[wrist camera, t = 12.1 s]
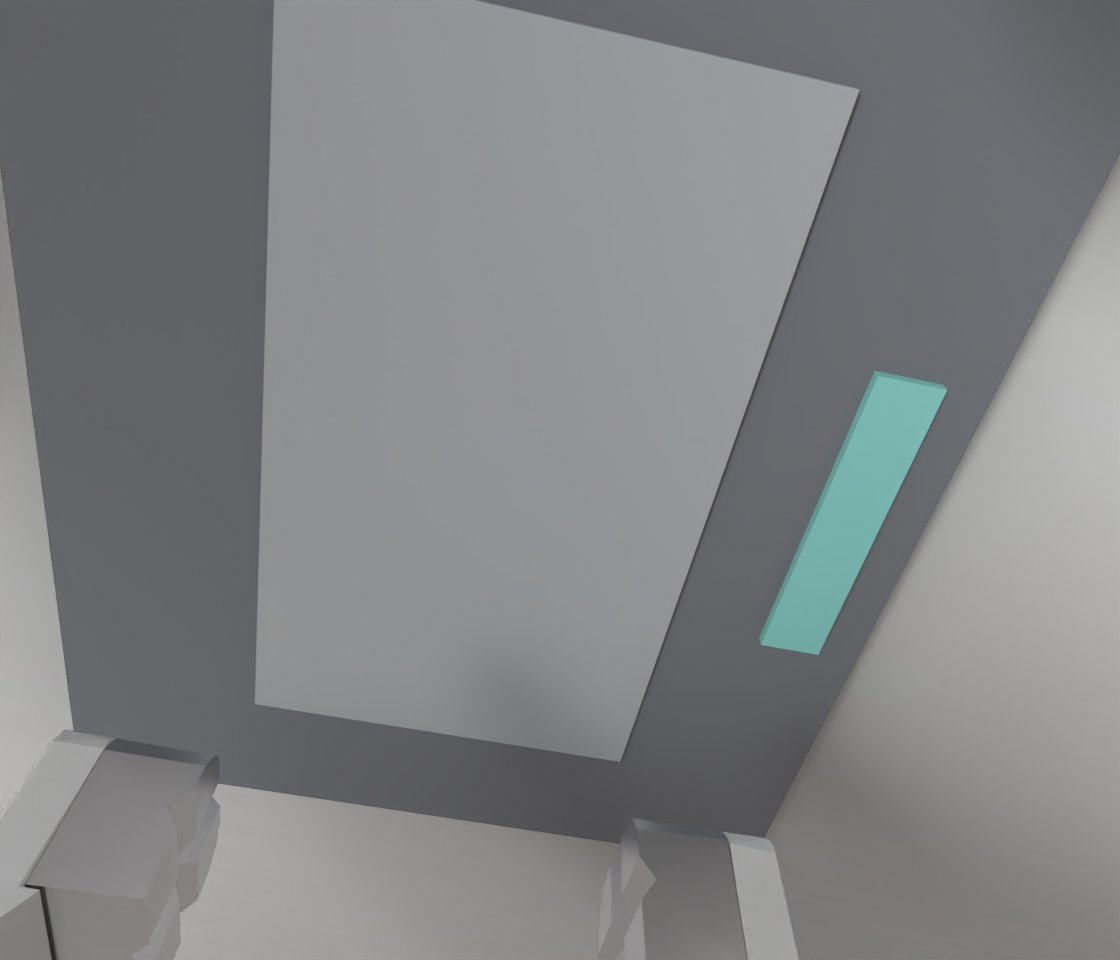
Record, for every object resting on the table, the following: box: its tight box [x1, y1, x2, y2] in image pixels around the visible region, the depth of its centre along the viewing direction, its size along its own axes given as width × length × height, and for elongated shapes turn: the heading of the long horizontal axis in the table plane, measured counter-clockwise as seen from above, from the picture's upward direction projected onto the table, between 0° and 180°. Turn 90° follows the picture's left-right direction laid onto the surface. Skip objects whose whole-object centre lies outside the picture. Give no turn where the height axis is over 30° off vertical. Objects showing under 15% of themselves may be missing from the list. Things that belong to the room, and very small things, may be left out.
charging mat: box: [0, 0, 1120, 844], centre depth 16 cm, size 20×16×1 cm
